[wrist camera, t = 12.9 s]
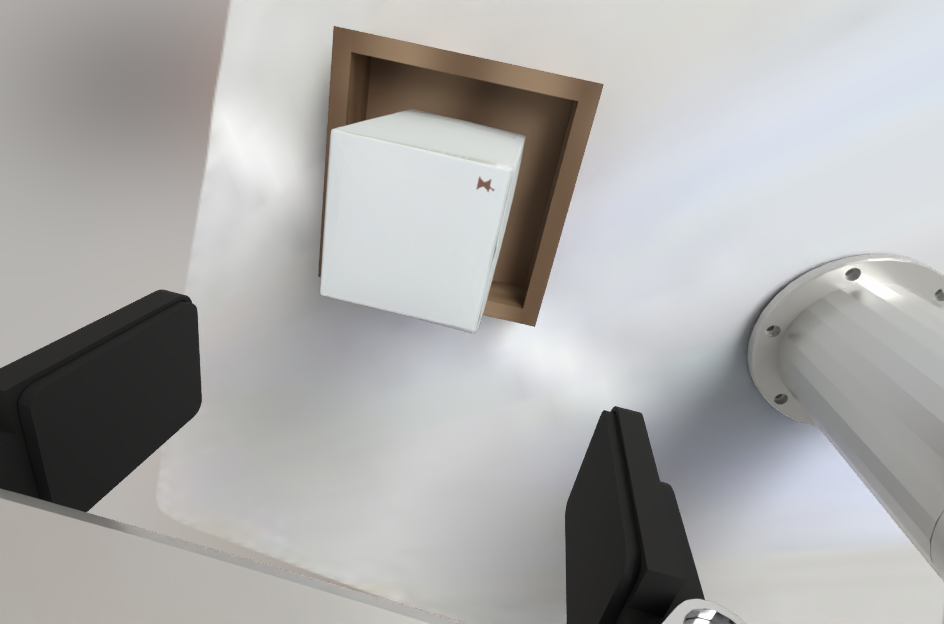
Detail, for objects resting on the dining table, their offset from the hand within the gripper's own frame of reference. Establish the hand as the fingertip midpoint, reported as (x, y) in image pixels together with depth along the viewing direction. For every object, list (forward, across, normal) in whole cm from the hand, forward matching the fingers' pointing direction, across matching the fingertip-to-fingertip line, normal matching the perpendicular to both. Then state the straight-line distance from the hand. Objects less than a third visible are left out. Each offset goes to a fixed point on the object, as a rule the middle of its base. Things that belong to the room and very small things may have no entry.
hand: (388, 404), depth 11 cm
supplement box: (+23, +3, -1) cm, 23 cm away
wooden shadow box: (+23, +3, -1) cm, 24 cm away
